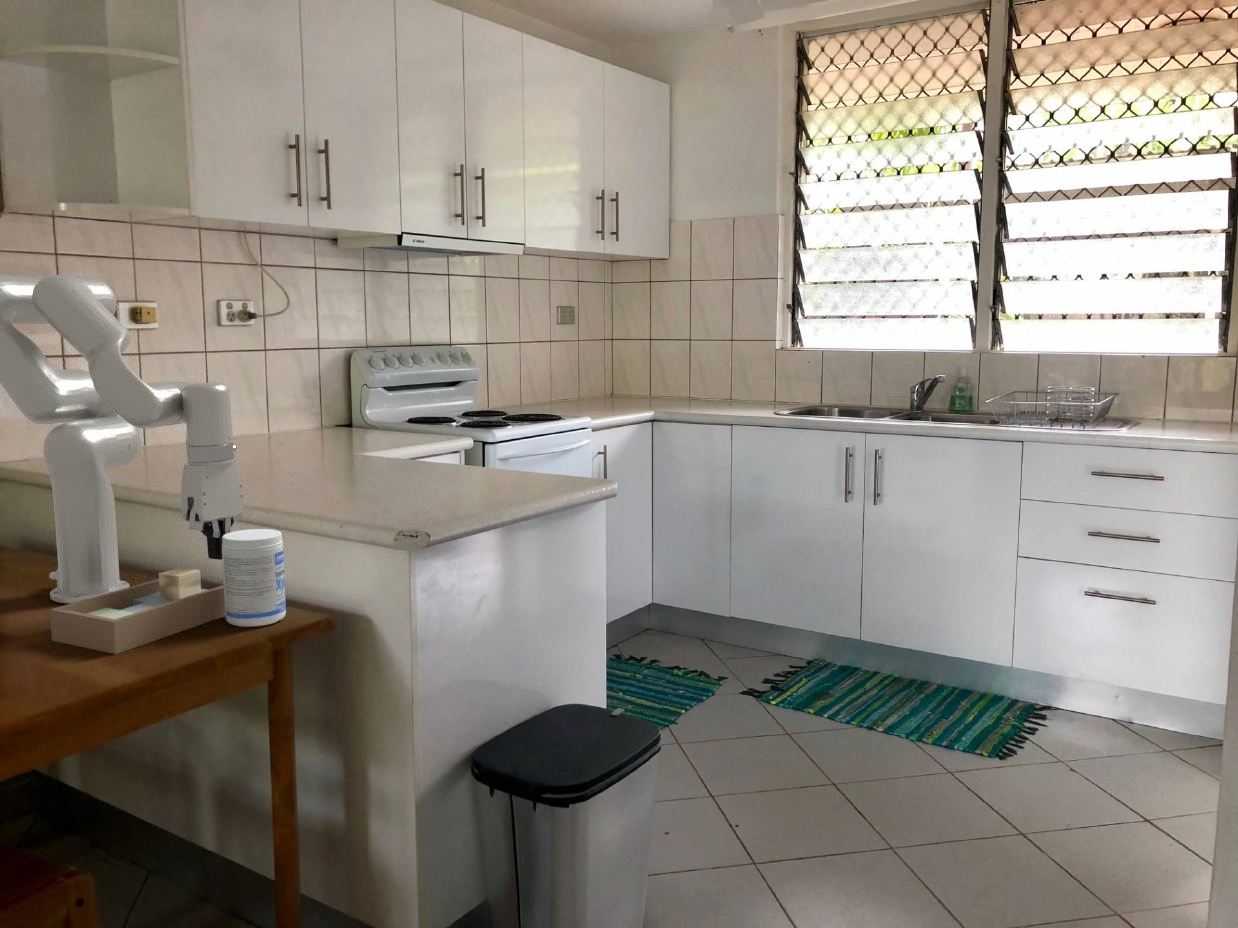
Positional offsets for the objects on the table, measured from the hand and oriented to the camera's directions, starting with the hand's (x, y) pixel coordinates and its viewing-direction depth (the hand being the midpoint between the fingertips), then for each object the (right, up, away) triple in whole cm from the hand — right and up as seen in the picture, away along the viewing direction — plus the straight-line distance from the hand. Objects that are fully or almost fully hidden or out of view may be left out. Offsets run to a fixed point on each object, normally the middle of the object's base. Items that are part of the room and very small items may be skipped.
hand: (218, 557), depth 169 cm
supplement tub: (+9, -10, -7) cm, 15 cm away
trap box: (-7, -10, -11) cm, 16 cm away
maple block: (-4, -6, -6) cm, 9 cm away
